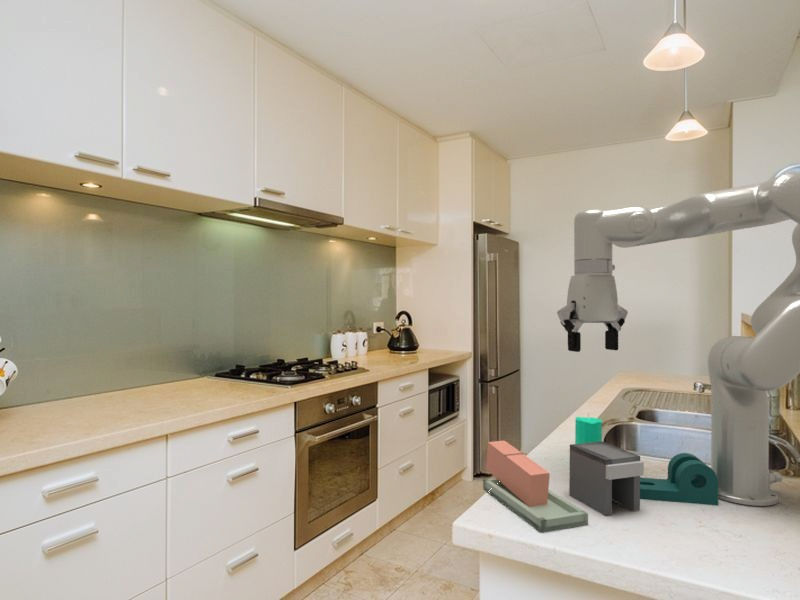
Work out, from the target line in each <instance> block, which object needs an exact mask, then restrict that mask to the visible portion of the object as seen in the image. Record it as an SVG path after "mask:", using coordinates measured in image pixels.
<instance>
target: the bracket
mask: <svg viewBox="0 0 800 600" xmlns="http://www.w3.org/2000/svg"><path fill="white" fill-rule="evenodd" d="M640 500H645V501H655V502H656V501H657V502H669V503H679V504H680V503H682V504H696V505H707V506H708V505H709V506H719V498H718V478H717V475H716V473H715V472H714V471H713V470H712V469H711V466H709V465H707V464H706V463H705V462H704V461H703V460H701V459H700V458H699V457H697V456H696V455H694V454H692V453H687V452H681V453H678V454H675V455H673V456H672V458H671V459H670V460H669V462H668V464H667V478H653V477H652V478H651V477H642V476H640Z"/></svg>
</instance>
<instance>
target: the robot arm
mask: <svg viewBox="0 0 800 600" xmlns="http://www.w3.org/2000/svg"><path fill="white" fill-rule="evenodd" d="M789 220H791V221H793V222H795V223H796V225H795V226H794V229H793V230H792V235H791V242H792V246H793V250H794V255H795V265H794V267H793V269H792V270H791V272H790V273H789V275H787V277H786V278H785V279H784V280H783V282H781V283H780V284H779V285H778V287H777V288H775V289H774V290H773V291H772V293H771V294H769V295H768V296H767V297H766V299H764V300H763V301H762V302H761V303H760V304H759V305H758V306H757V307H756V308H755V310H754V311H753V313H752V316H751V319H750V324H751V325H750V326H751V329H752V330H753V332H754V334H755V336H754V337H751V336H743V335H731V336H726V337H723V338H721V339H719V340H718V341H716V342H715V343H714V344H713V345H712V347H711V348H710V350H709V353H708V357H707V369H708V370H707V371H708V375H709V381H710V382H709V383H710V389H711V391H710V392H711V394H710V395H711V413H710V414H711V415H710V416H711V422H710V423H711V425H710V430H711V431H710V435H711V436H710V439H711V441H710V468H711V469H712V470H713V471H714V472H715V473H716V475H717V478H718V499H721V500H723V501H726V502H731V503H734V504H740V505H745V506H746V505H747V506H755V507H766V506H767V507H768V506H774V505H776V504H777V503H778V502H779V495H778V493H777V492H776V491H775V490H773V489H771V485H772V484H776V483H780V482H782V481H783V475H782V474H781V473H780V472H778V471H773V472H769V449H770V448H769V447H770V446H769V444H770V443H769V441H770V440H769V433H770V432H769V431H770V430H769V429H770V428H769V427H770V426H769V423H770V409H769V406H770V404H769V398H768V392H774V391H776V390H779V389H781V388H783V387H785V386H787V385H788V384H789V383H790V382H792V381H793V380H794V379H795V378H796V377H797V376H798V375H799V374H800V172H795V171H792V172H786V173H783V174H780V175H778V176H776V177H773V178H771V179H768V180H766V181H763V182H758V183H754V184H753V183H752V184H747V185H741V186H736V187H731V188H725V189H719V190H714V191H708V192H707V191H706V192H702V193H699V194H695V195H692V196H690V197H688V198H684V199H682V200H680V201H678V202H675V203H671V204H669V205H664V206H662V207H658V208H652V209H649V208H647V207H645V206H636V205H635V206H627V207H621V208H615V209H606V210H605V209H586V210H582V211H578V213H576V214H575V216H574V221H573V225H574V226H573V229H574V230H573V236H574V238H573V242H574V243H573V244H574V245H573V247H574V248H573V250H574V251H573V252H574V253H573V254H574V255H573V256H574V257H573V258H574V259H573V260H574V261H573V262H574V263H573V265H574V269H573V270H574V271H573V272H574V273H573V274H574V275H571V276H570V279H569V283H568V288H567V290H568V291H567V294H566V295H567V297H566V298H567V300H566V305H565V306H563V307H562V308H560V309H559V310H557V312H556V314H557V317H558V319H559V321H560V324H561V326H562V327H564V331H565V332H566V333H567V350H568V351H569V352H574V353H579V352H580V351H581V349H582V348H581V346H582V343H581V341H582V340H581V336H582V335H581V332H579V330H580V328H581V327H582V326H583V324H601V323H603V325H604V326H605V328H606V329H607V330H605V331H604V339H605V340H604V341H605V342H604V347H605V349H606V350H610V351H618V350H619V332H620V331H621V330H622V327H623V325H624V324H625V321H626V318H627V316H628V309H625V308H624V307H622V306H621V305H619V301H618V299H619V298H618V291H617V283H616V278H615V275H613V271H615V269H616V266H615V264H613V245H614V246H616V247H618V248H625V249H626V248H634V247H639V246H640V247H641V246H645V245H647V246H648V245H652V244H657V243H663V242H668V241H669V242H670V241H674V240H680V239H690V238H691V239H692V238H697V237H703V236H709V235H714V234H720V233H725V232H732V231H738V230H744V229H750V228H757V227H762V226H763V227H764V226H770V225H774V224H778V223H781V222H785V221H789Z"/></svg>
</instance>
